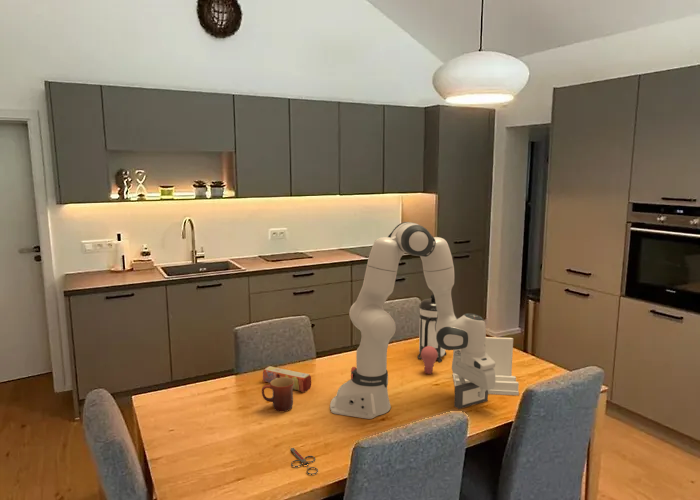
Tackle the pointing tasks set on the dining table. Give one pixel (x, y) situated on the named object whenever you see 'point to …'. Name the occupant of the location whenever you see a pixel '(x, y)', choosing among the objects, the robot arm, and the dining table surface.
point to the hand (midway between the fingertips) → (472, 392)
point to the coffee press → (429, 327)
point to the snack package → (300, 379)
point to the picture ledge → (499, 366)
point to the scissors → (302, 460)
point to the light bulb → (429, 358)
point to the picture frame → (468, 395)
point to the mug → (281, 393)
